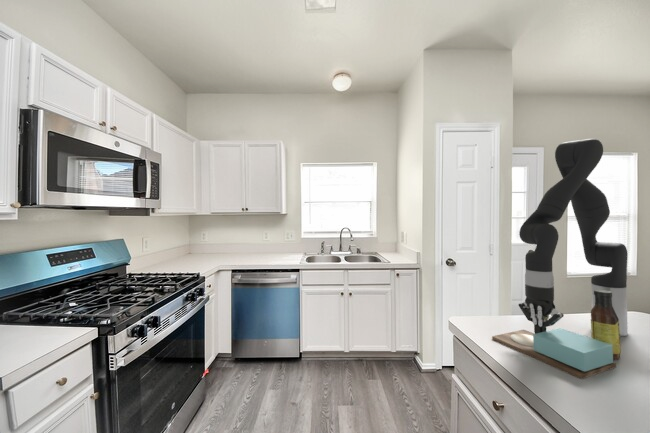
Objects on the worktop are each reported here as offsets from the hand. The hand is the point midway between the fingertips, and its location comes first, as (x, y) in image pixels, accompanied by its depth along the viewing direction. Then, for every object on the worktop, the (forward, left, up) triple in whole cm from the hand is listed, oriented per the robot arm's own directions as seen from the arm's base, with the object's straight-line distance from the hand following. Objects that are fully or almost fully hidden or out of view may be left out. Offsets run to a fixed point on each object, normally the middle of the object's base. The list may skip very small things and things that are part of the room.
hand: (540, 336), depth 90 cm
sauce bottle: (-14, +10, -4) cm, 18 cm away
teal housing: (0, +9, -2) cm, 9 cm away
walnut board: (0, +2, -4) cm, 5 cm away
